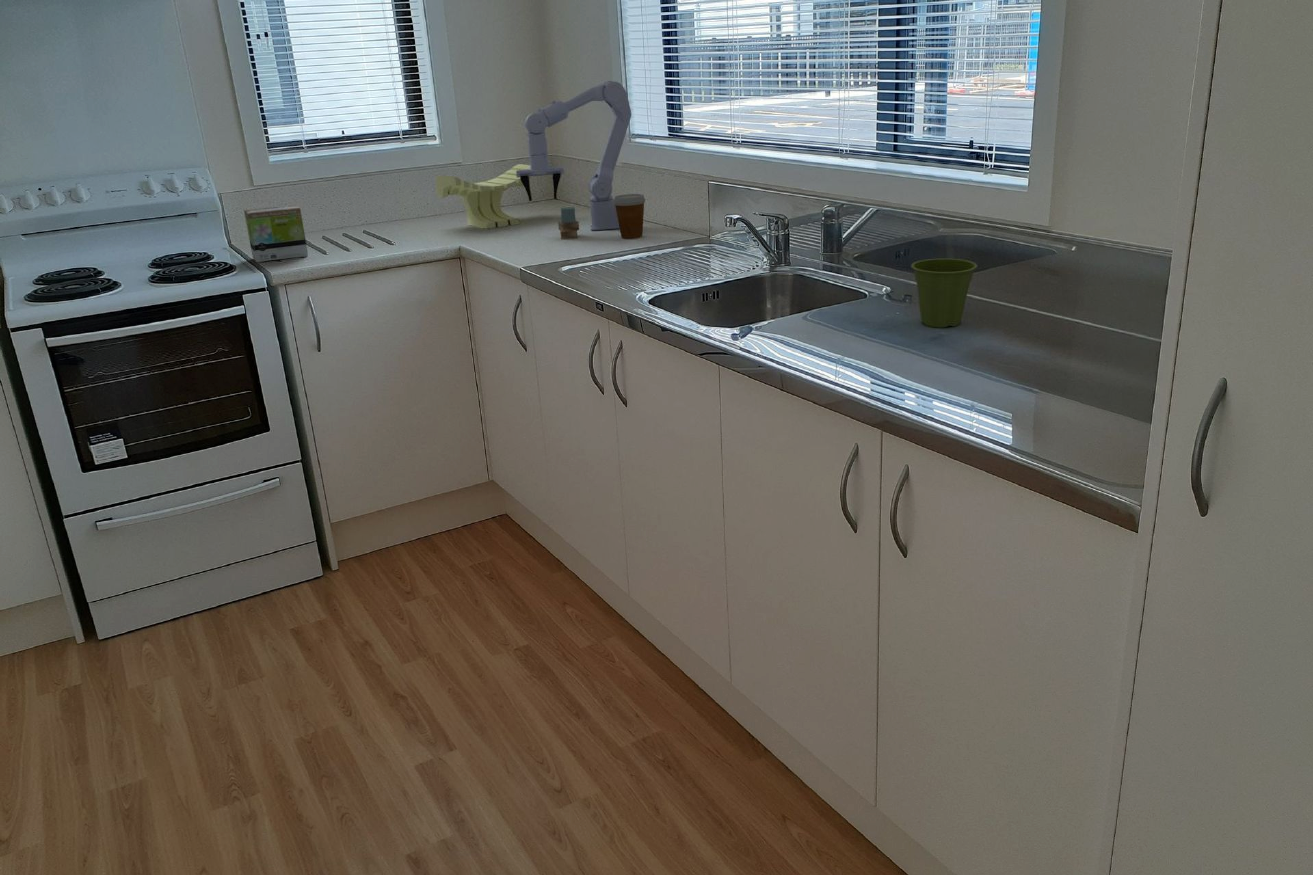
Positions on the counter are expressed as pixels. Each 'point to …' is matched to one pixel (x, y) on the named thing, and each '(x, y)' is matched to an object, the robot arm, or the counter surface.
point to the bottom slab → (568, 234)
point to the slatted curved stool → (482, 197)
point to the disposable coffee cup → (630, 215)
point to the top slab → (568, 226)
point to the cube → (568, 214)
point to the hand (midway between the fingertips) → (543, 199)
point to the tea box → (276, 233)
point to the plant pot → (942, 290)
